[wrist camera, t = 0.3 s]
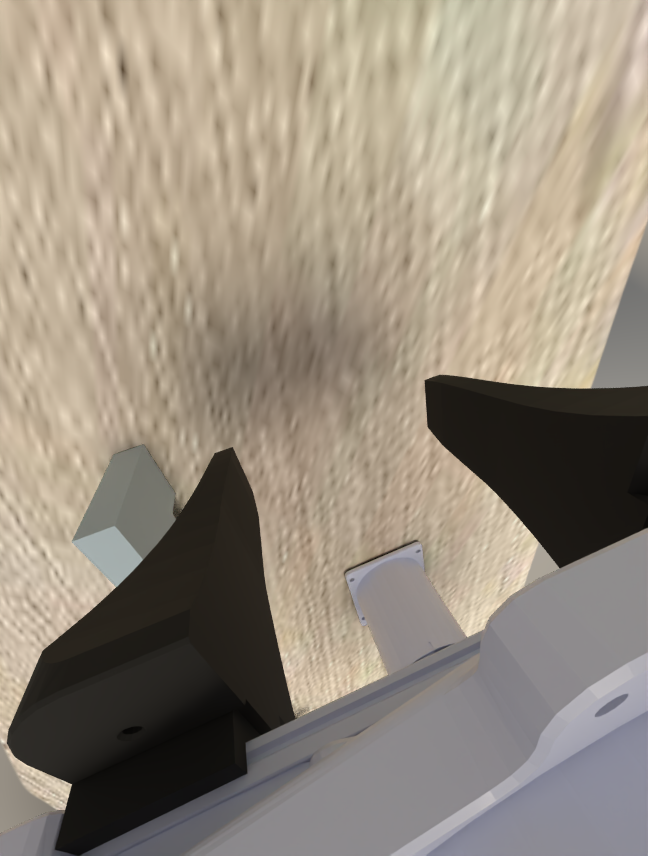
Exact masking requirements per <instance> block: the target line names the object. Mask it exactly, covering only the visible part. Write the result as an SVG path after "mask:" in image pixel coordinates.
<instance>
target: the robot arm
mask: <svg viewBox="0 0 648 856" xmlns="http://www.w3.org/2000/svg"><path fill="white" fill-rule="evenodd" d="M425 394H426V409H427V424H428V428H429V429H430V430H431V432H432V433H433V434H434V435H435V437H436V438H437V439H438V440H439V441H440V443H441V444H442V445H443V446H444V447H445V448H446V449H447V450H449V451H450V452H451V453H452V454H453V455H454V456H455V457H456V458H457V459H459V460H460V461H461V462H462V463H463V464H464V465H465V466H467V467H468V468H469V469H470V470H471V471H472V472H473V473H475V474H476V475H477V476H478V477H479V478H480V479H482V480H483V481H484V482H485V483H486V484H487V485H488V486H489V487H490V488H491V489H492V490H493V491H494V492H495V493H496V494H497V495H498V496H499V497H500V498H501V499H502V500H503V501H504V502H505V503H506V504H507V506H508V507H509V508H510V509H511V510H512V511H513V512H514V513H515V514H516V516H517V517H518V518H519V519H520V520H521V521H522V522H523V524H524V525H525V526H526V527H527V528H528V529H529V531H530V532H531V533H532V534H533V535H534V537H535V538H536V539H537V540H538V542H539V543H540V544H541V545H542V547H544V549H545V550H546V551H547V553H548V554H549V555H550V556H551V558H552V559H553V560H554V561H555V563H556V564H557V565H558V567H559V568H560V569H558V570H556V571H553V572H551V573H549V574H547V575H545V576H543V577H541V578H538V579H537V580H535V581H533V582H532V583H530V584H529V585H527V586H525V587H524V588H522V589H521V590H519V591H517V592H516V593H514V594H513V595H511V596H510V597H509V598H508V599H507V600H506V601H505V602H504V603H503V604H502V605H501V606H500V607H499V608H498V609H497V610H496V611H495V612H494V613H493V614H492V615H491V616H490V617H489V620H488V622H487V624H486V627H485V629H484V630H482V631H480V632H478V633H476V634H474V635H472V636H469V637H466V635H465V633H464V632H463V630H462V629H461V627H460V626H459V624H458V623H457V621H456V620H455V618H454V617H453V615H452V614H451V612H450V610H449V609H448V607H447V606H446V604H445V603H444V601H443V600H442V598H441V597H440V595H439V594H438V592H437V591H436V589H435V588H434V586H433V584H432V583H431V581H430V580H429V578H428V577H427V575H426V574H425V568H424V559H423V550H422V545H421V543H420V542H414V543H412V544H410V545H407V546H405V547H403V548H400V549H398V550H396V551H393V552H391V553H389V554H386V555H384V556H382V557H379V558H377V559H375V560H372V561H370V562H368V563H365V564H363V565H361V566H358V567H356V568H354V569H351V570H349V571H347V572H346V574H345V578H346V581H347V584H348V587H349V590H350V593H351V596H352V599H353V602H354V605H355V608H356V611H357V614H358V617H359V620H360V623H361V625H362V626H366V625H368V627H369V629H370V632H371V634H372V636H373V639H374V641H375V644H376V646H377V649H378V651H379V653H380V656H381V658H382V661H383V663H384V666H385V668H386V670H387V673H388V675H387V676H385V677H383V678H381V679H379V680H377V681H375V682H373V683H370V684H368V685H366V686H364V687H362V688H360V689H358V690H356V691H354V692H352V693H349V694H347V695H345V696H343V697H341V698H339V699H337V700H335V701H333V702H330V703H328V704H326V705H324V706H322V707H320V708H318V709H316V710H314V711H312V712H309V713H307V714H305V715H303V716H301V717H299V718H297V719H295V716H294V712H293V708H292V704H291V700H290V696H289V691H288V687H287V683H286V679H285V674H284V670H283V665H282V661H281V657H280V652H279V648H278V643H277V638H276V634H275V629H274V624H273V620H272V615H271V610H270V605H269V600H268V595H267V590H266V584H265V577H264V568H263V558H262V547H261V536H260V526H259V516H258V512H257V507H256V503H255V499H254V495H253V491H252V489H251V487H250V484H249V482H248V480H247V478H246V476H245V473H244V471H243V469H242V467H241V465H240V462H239V460H238V458H237V456H236V454H235V451H234V449H233V447H231V448H229V449H226V450H223V451H220V452H217V453H215V454H214V456H213V458H212V459H211V461H210V463H209V465H208V467H207V469H206V471H205V473H204V475H203V476H202V478H201V480H200V482H199V484H198V486H197V487H196V489H195V491H194V493H193V494H192V496H191V497H190V499H189V501H188V502H187V504H186V505H185V507H184V509H183V510H182V512H181V513H180V515H179V516H178V518H177V519H176V520H175V522H174V523H173V525H172V526H171V527H170V529H169V530H168V531H167V532H166V534H165V535H164V536H163V537H162V539H161V540H160V541H159V542H158V544H157V545H156V546H155V547H154V548H153V549H152V550H151V551H150V553H149V554H148V555H147V556H146V557H145V558H144V559H143V560H142V561H141V562H140V564H139V565H138V566H137V567H136V568H135V569H134V570H133V571H132V572H131V573H130V574H129V575H128V576H127V577H126V578H125V579H124V580H123V581H122V582H121V583H120V584H119V585H118V586H117V587H116V588H115V589H114V590H113V591H112V592H111V593H110V594H109V595H108V596H106V597H105V598H104V599H103V600H102V601H101V602H100V603H99V604H98V605H97V606H96V607H94V608H93V609H92V610H91V611H90V612H89V613H88V614H86V615H85V616H84V617H83V618H82V619H80V620H79V621H78V622H77V623H76V624H74V625H73V626H72V627H71V628H70V629H69V630H67V631H66V632H65V633H64V634H63V635H61V636H60V637H59V638H58V639H57V640H55V641H54V642H53V643H52V644H50V645H49V646H48V647H47V648H45V649H44V650H43V651H42V654H41V656H40V658H39V660H38V663H37V665H36V667H35V670H34V672H33V674H32V677H31V679H30V681H29V684H28V686H27V688H26V691H25V693H24V695H23V698H22V700H21V702H20V705H19V707H18V709H17V712H16V714H15V716H14V719H13V721H12V723H11V726H10V728H9V731H8V738H7V744H8V746H9V748H10V750H11V752H12V753H13V755H14V756H15V757H16V758H17V759H19V760H20V761H22V762H23V763H25V764H26V765H28V766H31V767H33V768H35V769H38V770H40V771H42V772H45V773H47V774H49V775H52V776H54V777H56V778H59V779H61V780H63V781H66V782H68V783H70V784H72V787H71V790H70V794H69V798H68V802H67V806H66V809H65V810H57V811H50V812H47V813H44V814H41V815H38V816H36V817H34V818H32V819H29V820H27V821H25V822H23V823H21V824H19V825H16V826H14V827H12V828H10V829H8V830H6V831H4V832H1V833H0V856H648V386H641V387H626V388H596V389H595V388H594V389H571V388H548V387H534V386H524V385H515V384H507V383H499V382H492V381H486V380H479V379H472V378H466V377H459V376H450V375H438V376H435V377H432V378H429V379H427V380H425Z"/></svg>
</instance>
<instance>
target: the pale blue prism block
mask: <svg viewBox="0 0 648 856" xmlns="http://www.w3.org/2000/svg"><path fill="white" fill-rule="evenodd" d="M174 501H175V492H174V491H173V489H172V487H171V486H170V484H169V483H168V481H167V480H166V478H165V477H164V475H163V474H162V472H161V470H160V469H159V467H158V466H157V464H156V463H155V461H154V460H153V458H152V456H151V455H150V453H149V452H148V450H147V449H146V447H145V446H144V444H143V445H140V446H137V447H134V448H132V449H129V450H126V451H123V452H120V453H117V454H114V455H113V457H112V459H111V461H110V463H109V465H108V468H107V470H106V472H105V474H104V476H103V478H102V480H101V482H100V484H99V486H98V488H97V490H96V492H95V494H94V497H93V499H92V501H91V503H90V505H89V507H88V509H87V511H86V513H85V515H84V517H83V519H82V521H81V523H80V526H79V528H78V530H77V532H76V534H75V536H74V538H73V540H72V543H73V544H74V545H75V546H76V547H77V548H78V549H79V550H80V551H81V552H82V553H83V554H84V555H85V556H86V557H87V558H88V559H89V560H90V561H91V562H92V563H93V564H94V565H95V566H96V567H97V568H98V569H99V570H100V571H101V572H102V573H103V574H104V575H105V576H106V577H107V578H108V579H109V580H110V581H111V582H112V583H113V584H114V585H115V587H117V586H118V585H119V584H120V583H121V582H122V581H123V580H124V579H125V578H126V577H127V576H128V575H129V574H130V573H131V572H132V571H133V570H134V569H135V568H136V567H137V566H138V565H139V564H140V562H141V561H142V560H143V559H144V558H145V557H146V556H147V555H148V554H149V553H150V551H151V550H152V549H153V548H154V547H155V546H156V545H157V544H158V542H159V541H160V540H161V539H162V537H163V536H164V535H165V534H166V532H167V531H168V530H169V529H170V527H171V526H172V525H173V523H174V522H175V520H176V518H175V517H174V515H173V507H174Z"/></svg>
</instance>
